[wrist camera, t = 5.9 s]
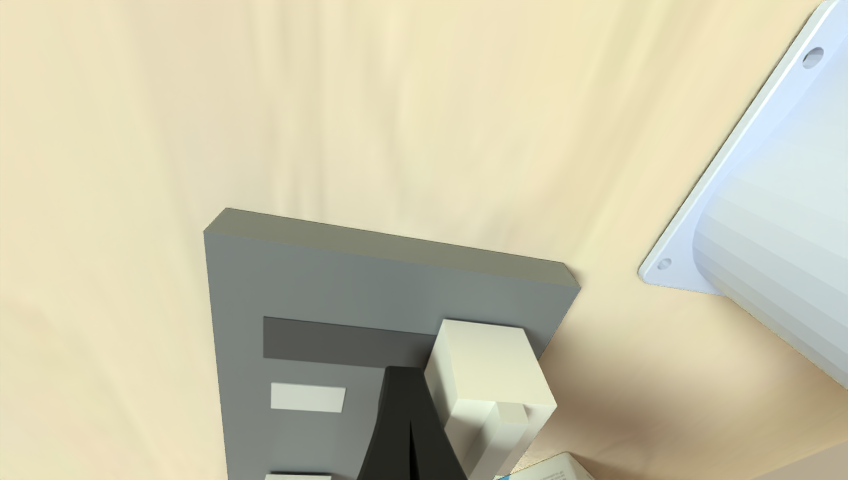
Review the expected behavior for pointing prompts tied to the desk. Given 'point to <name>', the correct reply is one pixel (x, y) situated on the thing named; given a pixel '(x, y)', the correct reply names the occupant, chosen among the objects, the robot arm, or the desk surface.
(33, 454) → the desk surface
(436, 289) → the switch board
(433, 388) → the switch tab
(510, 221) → the desk surface
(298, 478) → the switch tab
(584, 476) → the ink box
